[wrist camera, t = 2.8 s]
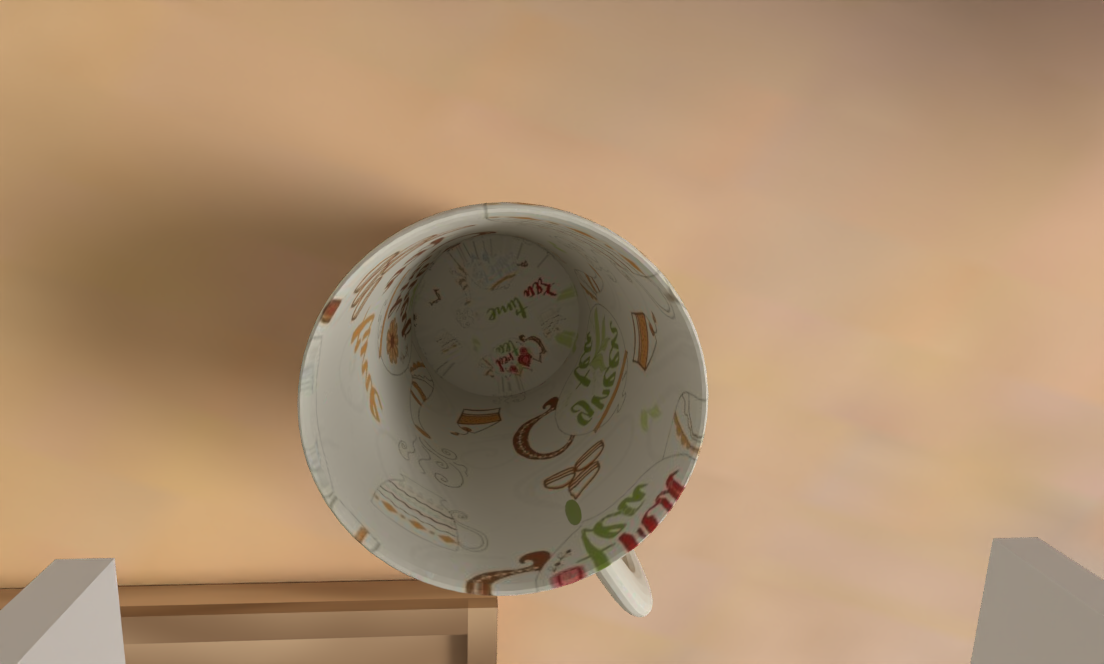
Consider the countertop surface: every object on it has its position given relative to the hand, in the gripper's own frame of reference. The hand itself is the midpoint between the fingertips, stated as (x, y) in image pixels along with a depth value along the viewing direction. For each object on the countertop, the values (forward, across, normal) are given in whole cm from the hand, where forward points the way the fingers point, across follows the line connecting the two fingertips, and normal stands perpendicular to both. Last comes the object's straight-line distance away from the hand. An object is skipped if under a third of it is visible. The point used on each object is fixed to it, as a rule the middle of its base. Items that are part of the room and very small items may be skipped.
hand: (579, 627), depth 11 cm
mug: (+14, 0, 0) cm, 15 cm away
